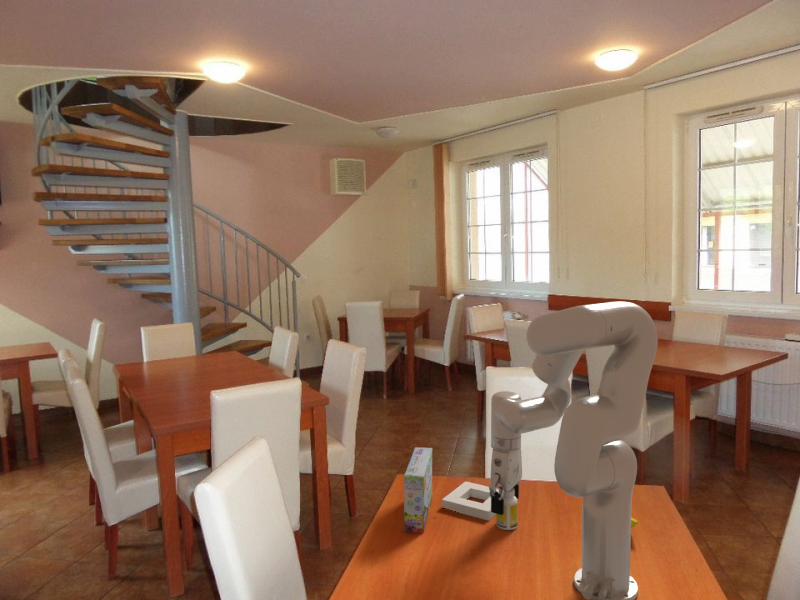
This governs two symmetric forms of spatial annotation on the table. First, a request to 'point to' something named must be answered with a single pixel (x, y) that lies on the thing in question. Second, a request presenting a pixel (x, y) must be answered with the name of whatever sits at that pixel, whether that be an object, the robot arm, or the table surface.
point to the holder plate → (462, 505)
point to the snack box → (418, 490)
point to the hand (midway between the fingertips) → (505, 505)
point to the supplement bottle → (508, 511)
